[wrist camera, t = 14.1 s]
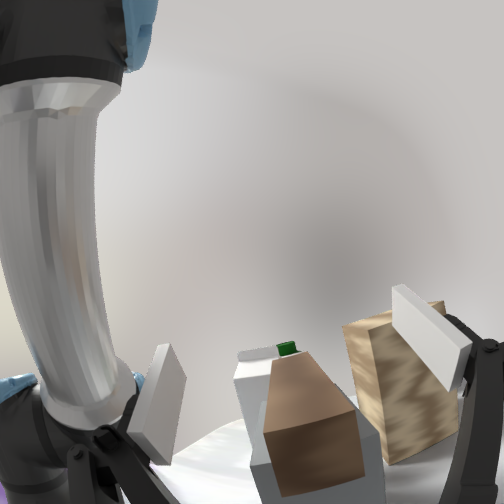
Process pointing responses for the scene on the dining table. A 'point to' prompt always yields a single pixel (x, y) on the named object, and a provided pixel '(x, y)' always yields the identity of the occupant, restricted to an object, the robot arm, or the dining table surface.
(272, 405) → the bar
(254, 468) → the grey block
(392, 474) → the dining table surface
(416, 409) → the oak block
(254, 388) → the milk
